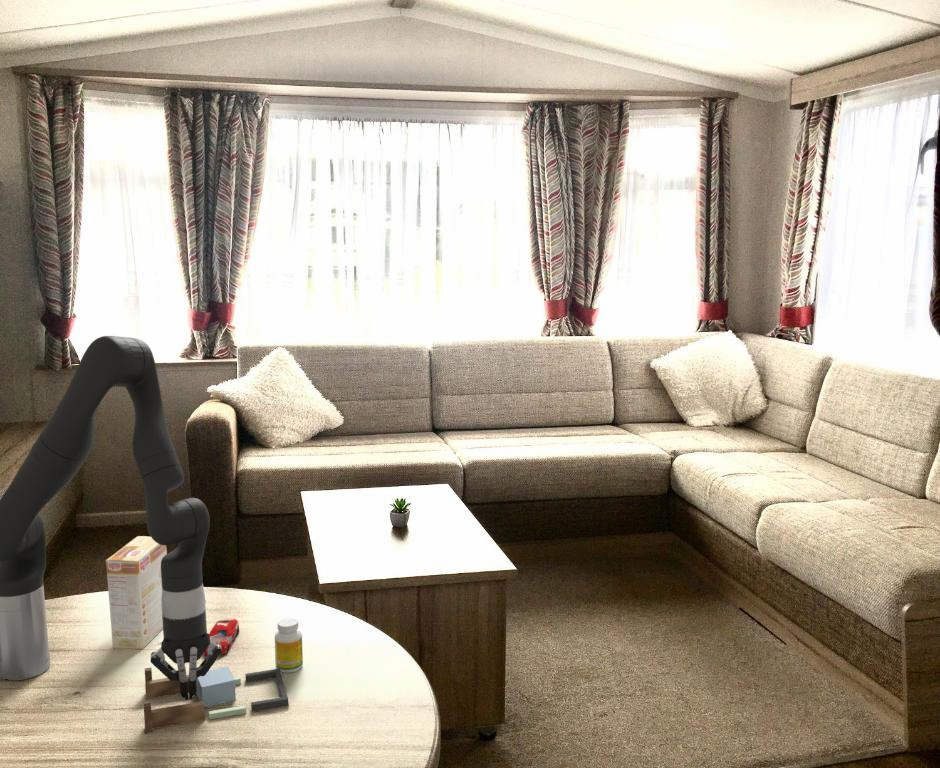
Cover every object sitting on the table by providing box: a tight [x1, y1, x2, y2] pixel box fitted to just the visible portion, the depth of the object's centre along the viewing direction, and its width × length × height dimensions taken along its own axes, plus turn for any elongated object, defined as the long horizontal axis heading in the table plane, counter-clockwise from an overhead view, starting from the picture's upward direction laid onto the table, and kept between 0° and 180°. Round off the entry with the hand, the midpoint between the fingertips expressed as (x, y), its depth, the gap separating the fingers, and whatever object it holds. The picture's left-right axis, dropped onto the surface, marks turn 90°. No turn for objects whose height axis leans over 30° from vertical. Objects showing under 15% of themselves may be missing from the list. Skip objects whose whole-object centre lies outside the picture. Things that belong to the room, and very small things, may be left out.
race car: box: [203, 618, 240, 656], centre depth 192 cm, size 13×5×4 cm, turn 178°
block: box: [196, 665, 237, 708], centre depth 169 cm, size 6×6×4 cm
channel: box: [143, 666, 206, 734], centre depth 165 cm, size 10×15×5 cm
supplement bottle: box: [274, 617, 304, 674], centre depth 180 cm, size 5×5×10 cm
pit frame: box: [244, 668, 290, 713], centre depth 171 cm, size 7×12×1 cm, turn 19°
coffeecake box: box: [105, 535, 168, 650], centre depth 195 cm, size 15×7×20 cm, turn 175°
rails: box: [208, 676, 247, 720], centre depth 169 cm, size 6×12×1 cm, turn 19°
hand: (189, 697), depth 166 cm, fingers closed
